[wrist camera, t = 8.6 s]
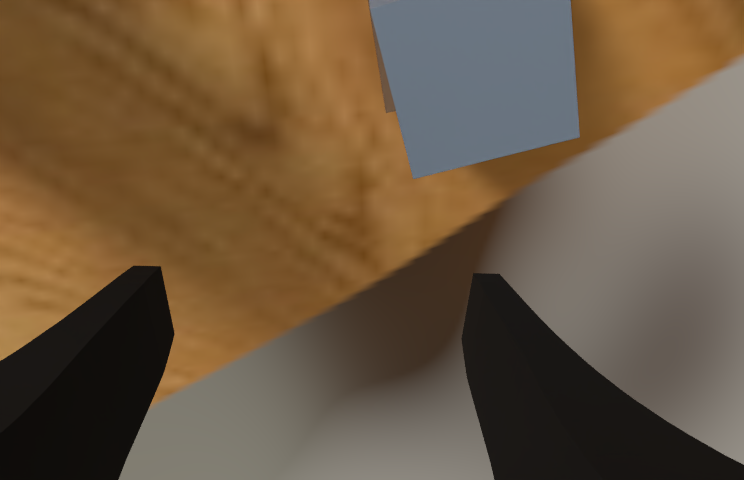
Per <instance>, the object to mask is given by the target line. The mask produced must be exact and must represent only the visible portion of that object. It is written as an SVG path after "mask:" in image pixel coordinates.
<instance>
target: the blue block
mask: <svg viewBox="0 0 744 480" xmlns="http://www.w3.org/2000/svg"><path fill="white" fill-rule="evenodd" d="M369 3H370V11H371V15H372V19H373V23H374V27H375V31H376V35H377V39H378V43H379V46H380V50H381V54H382V58H383V62H384V66H385V70H386V74H387V78H388V82H389V86H390V89H391V93H392V97H393V101H394V105H395V109H396V113H397V117H398V121H399V125H400V129H401V132H402V136H403V140H404V144H405V148H406V152H407V156H408V160H409V164H410V168H411V172H412V175H413V179H416V178H420V177H424V176H428V175H432V174H435V173H439V172H443V171H447V170H451V169H455V168H459V167H463V166H467V165H471V164H475V163H479V162H483V161H487V160H491V159H495V158H499V157H503V156H507V155H511V154H515V153H519V152H523V151H527V150H531V149H535V148H539V147H543V146H547V145H551V144H555V143H559V142H563V141H567V140H571V139H575V138H579V137H580V134H579V119H578V104H577V89H576V74H575V59H574V44H573V29H572V14H571V0H369Z"/></svg>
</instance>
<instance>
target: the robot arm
mask: <svg viewBox="0 0 744 480" xmlns="http://www.w3.org/2000/svg"><path fill="white" fill-rule="evenodd" d="M173 338H174V329H173V324H172V319H171V314H170V310H169V305H168V300H167V295H166V290H165V285H164V281H163V276H162V271H161V266H133V267H131V268H130V269H128V270H127V271H125V272H124V273H123V274H121V275H120V276H119V277H117V278H116V279H115V280H113V281H112V282H111V283H110V284H108V285H107V286H106V287H104V288H103V289H102V290H101V291H99V292H98V293H97V294H95V295H94V296H93V297H91V298H90V299H89V300H88V301H86V302H85V303H84V304H82V305H81V306H80V307H78V308H77V309H76V310H74V311H73V312H72V313H70V314H69V315H68V316H66V317H65V318H64V319H62V320H61V321H59V322H58V323H57V324H55V325H54V326H52V327H51V328H49V329H48V330H46V331H45V332H44V333H42V334H41V335H39V336H38V337H36V338H35V339H33V340H32V341H31V342H29V343H28V344H26V345H25V346H23V347H22V348H20V349H19V350H17V351H16V352H14V353H13V354H11V355H9V356H8V357H6V358H5V359H3V360H1V361H0V480H118V479H119V476H120V474H121V471H122V469H123V466H124V464H125V461H126V458H127V456H128V454H129V452H130V449H131V447H132V445H133V443H134V440H135V438H136V436H137V434H138V431H139V429H140V427H141V424H142V422H143V420H144V418H145V415H146V413H147V411H148V408H149V406H150V404H151V402H152V399H153V397H154V395H155V392H156V390H157V388H158V385H159V383H160V381H161V378H162V376H163V373H164V370H165V367H166V363H167V360H168V357H169V353H170V349H171V345H172V342H173ZM462 345H463V353H464V360H465V367H466V373H467V379H468V383H469V386H470V390H471V394H472V398H473V401H474V405H475V409H476V412H477V416H478V419H479V422H480V426H481V430H482V433H483V437H484V441H485V444H486V448H487V452H488V455H489V459H490V462H491V467H492V471H493V475H494V479H495V480H744V465H743V464H741V463H739V462H737V461H735V460H733V459H731V458H729V457H727V456H725V455H723V454H722V453H720V452H718V451H716V450H714V449H713V448H711V447H709V446H708V445H706V444H704V443H702V442H700V441H699V440H697V439H695V438H693V437H692V436H690V435H688V434H686V433H685V432H683V431H682V430H680V429H679V428H677V427H675V426H674V425H672V424H670V423H669V422H667V421H666V420H664V419H663V418H661V417H659V416H658V415H657V414H655V413H654V412H652V411H651V410H649V409H647V408H646V407H645V406H643V405H642V404H640V403H639V402H637V401H636V400H634V399H633V398H631V397H630V396H629V395H627V394H626V393H624V392H623V391H622V390H620V389H619V388H618V387H617V386H615V385H614V384H613V383H611V382H610V381H609V380H608V379H606V378H605V377H604V376H602V375H601V374H600V373H599V372H597V371H596V370H595V369H594V368H593V367H591V366H590V365H589V364H588V363H587V362H586V361H584V360H583V359H582V358H581V357H580V356H579V355H578V354H577V353H576V352H574V351H573V350H572V349H571V348H570V347H569V346H568V345H567V344H565V342H563V341H562V340H561V339H560V338H559V337H558V336H557V335H556V334H555V333H554V332H553V331H552V330H551V329H550V328H549V327H548V326H547V325H546V324H545V323H544V322H543V321H542V320H541V319H540V318H539V317H538V316H537V315H536V314H535V312H534V311H533V310H531V308H530V307H529V306H528V305H527V304H526V303H525V302H524V301H523V300H522V298H521V297H520V296H519V295H518V294H517V293H516V292H515V291H514V290H513V288H512V287H511V286H510V285H509V284H508V283H507V282H506V281H505V280H504V279H503V277H502V276H501V275H500V274H479V273H474V274H473V279H472V284H471V289H470V295H469V300H468V306H467V312H466V317H465V323H464V329H463V334H462Z"/></svg>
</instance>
